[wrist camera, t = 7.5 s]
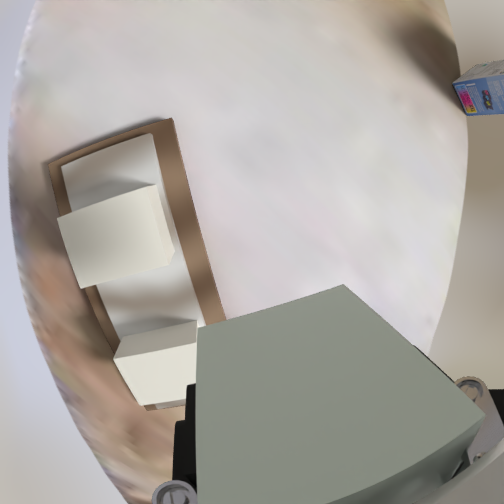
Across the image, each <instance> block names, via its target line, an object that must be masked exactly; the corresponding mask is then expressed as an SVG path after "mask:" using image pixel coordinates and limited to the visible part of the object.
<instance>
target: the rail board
mask: <svg viewBox="0 0 504 504" xmlns="http://www.w3.org/2000/svg"><path fill="white" fill-rule="evenodd" d="M48 167H49V172H50V176H51V181H52V186H53V190H54V194H55V198H56V202H57V206H58V210H59V214H60V217H61V216H64V215H66V214H69V213H71V212H74V211H77V210H79V209H82V208H85V207H87V206H90V205H93V204H96V203H99V202H101V201H104V200H107V199H110V198H113V197H116V196H119V195H122V194H125V193H128V192H131V191H134V190H137V189H140V188H144V187H147V186H152V185H156V186H157V190H158V194H159V197H160V201H161V205H162V209H163V212H164V216H165V220H166V223H167V227H168V230H169V234H170V237H171V240H172V244H173V247H174V251H175V252H174V254H173V256H172V259H171V261H170V264H169V265H167V266H163V267H159V268H155V269H152V270H148V271H144V272H140V273H137V274H133V275H129V276H126V277H122V278H118V279H114V280H111V281H107V282H103V283H100V284H96V285H92V286H89V287H85V291H86V293H87V296H88V298H89V301H90V303H91V305H92V308H93V310H94V312H95V315H96V317H97V319H98V321H99V324H100V326H101V328H102V330H103V332H104V334H105V336H106V338H107V340H108V342H109V344H110V346H111V348H112V350H113V352H114V354H115V353H116V351H117V349H118V347H119V344H120V342H121V340H122V338H123V337H124V336H129V335H133V334H138V333H143V332H148V331H152V330H157V329H161V328H166V327H170V326H174V325H179V324H183V323H187V322H191V321H196V320H197V321H198V324H199V327H203V326H207V325H210V324H214V323H218V322H222V321H225V320H226V317H225V314H224V311H223V307H222V304H221V301H220V297H219V294H218V291H217V287H216V284H215V280H214V277H213V273H212V270H211V266H210V263H209V259H208V256H207V252H206V249H205V245H204V241H203V238H202V234H201V230H200V227H199V223H198V219H197V215H196V212H195V208H194V204H193V200H192V196H191V192H190V188H189V184H188V180H187V176H186V172H185V168H184V164H183V160H182V156H181V151H180V147H179V143H178V138H177V134H176V130H175V125H174V121H173V119H172V118H169V119H166V120H162V121H159V122H155V123H152V124H149V125H146V126H143V127H140V128H137V129H134V130H131V131H128V132H125V133H122V134H119V135H116V136H114V137H111V138H108V139H106V140H103V141H100V142H98V143H95V144H93V145H90V146H88V147H85V148H83V149H81V150H78V151H76V152H74V153H71V154H69V155H67V156H64V157H62V158H60V159H58V160H56V161H54V162H51V163H49V164H48ZM183 405H186V399H181V400H175V401H169V402H162V403H156V404H148V405H144V407H145V409H146V410H147V411H150V410H157V409H165V408H171V407H177V406H183Z"/></svg>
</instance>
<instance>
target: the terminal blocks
mask: <svg viewBox="0 0 504 504" xmlns="http://www.w3.org/2000/svg"><path fill="white" fill-rule="evenodd" d="M57 221H58V224H59V228H60V231H61V235H62V238H63V241H64V244H65V247H66V250H67V253H68V256H69V259H70V262H71V265H72V268H73V270H74V273H75V276H76V278H77V281H78V284H79V286H80V289H81V288H85V287H89V286H92V285H96V284H100V283H103V282H107V281H111V280H114V279H118V278H122V277H126V276H129V275H133V274H137V273H140V272H144V271H148V270H152V269H155V268H159V267H163V266H167V265H169V264H170V261H171V259H172V256H173V254H174V252H175V251H174V247H173V244H172V240H171V237H170V234H169V230H168V227H167V223H166V220H165V216H164V212H163V209H162V205H161V201H160V197H159V194H158V190H157V186H156V185H152V186H147V187H144V188H140V189H137V190H134V191H131V192H128V193H125V194H122V195H119V196H116V197H113V198H110V199H107V200H104V201H101V202H99V203H96V204H93V205H90V206H87V207H85V208H82V209H79V210H77V211H74V212H71V213H69V214H66V215H64V216H61V217H59V218H57ZM197 328H199V324H198V321H197V320H196V321H191V322H187V323H183V324H179V325H174V326H170V327H166V328H161V329H157V330H152V331H148V332H143V333H138V334H133V335H129V336H124V337H123V338H122V340H121V342H120V344H119V347H118V349H117V351H116V353H115V356H114V358H113V360H114V362H115V364H116V366H117V367H118V369H119V371H120V373H121V375H122V376H123V378H124V380H125V382H126V383H127V385H128V387H129V388H130V390H131V392H132V393H133V395H134V397H135V398H136V400H137V402H138V403H139V405H140V406H141V405H148V404H156V403H162V402H169V401H175V400H181V399H186V387H187V385H189V384H194V383H196V354H197Z"/></svg>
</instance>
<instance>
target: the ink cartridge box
mask: <svg viewBox="0 0 504 504" xmlns="http://www.w3.org/2000/svg"><path fill="white" fill-rule="evenodd" d="M452 84H453V86H454V88H455V90H456V92H457V94H458V97H459V99H460V101H461V103H462V106H463V108H464V110H465V113H466V115H467V116H473V115H491V114H504V60H499V61H493V62H487V63H482V64H477V65H475V66H474V67H473V68H471V69H470V70H469V71H468V72H466V73H465V74H463V75H462V76H461V77H459V78H458V79H457V80H455V81H454V82H453V83H452Z"/></svg>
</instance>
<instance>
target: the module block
mask: <svg viewBox="0 0 504 504" xmlns="http://www.w3.org/2000/svg"><path fill="white" fill-rule="evenodd" d="M485 416H486V414H485V413H484V412H483V411H482V410H481V409H480V408H479V407H478V406H477V405H476V404H475V403H474V402H473V401H472V400H471V399H470V398H469V397H468V396H467V395H466V394H465V393H464V392H463V391H462V390H460V389H459V388H458V387H457V386H456V385H455V384H454V383H453V382H452V381H451V380H450V379H449V378H448V377H447V376H446V375H445V374H444V373H443V372H441V371H440V370H439V369H438V368H437V367H436V366H435V365H434V364H433V363H432V362H431V361H430V360H429V359H427V358H426V357H425V356H424V355H423V354H422V353H421V352H420V351H419V350H418V349H417V348H415V347H414V346H413V345H412V344H411V343H410V342H409V341H408V340H407V339H405V338H404V337H403V336H402V335H401V334H400V333H399V332H398V331H397V330H395V329H394V328H393V327H392V326H391V325H390V324H389V323H388V322H386V321H385V320H384V319H383V318H382V317H381V316H380V315H378V314H377V313H376V312H375V311H374V310H373V309H372V308H370V307H369V306H368V305H367V304H366V303H365V302H364V301H362V300H361V299H360V298H359V297H358V296H357V295H355V294H354V293H353V292H352V291H351V290H350V289H349V288H347V287H346V286H345V285H344V284H343V285H340V286H337V287H334V288H331V289H328V290H325V291H322V292H319V293H316V294H313V295H309V296H306V297H303V298H300V299H297V300H294V301H290V302H287V303H284V304H281V305H277V306H274V307H271V308H267V309H264V310H261V311H257V312H254V313H250V314H247V315H243V316H240V317H236V318H233V319H229V320H225V321H222V322H218V323H214V324H210V325H207V326H203V327H199V328H197V354H196V474H197V498H198V504H412V503H414V502H416V501H418V500H419V499H421V498H423V497H424V496H426V495H428V494H429V493H431V492H433V491H434V490H436V489H437V488H439V487H441V486H442V485H444V484H445V483H446V482H447V481H449V480H450V479H451V478H452V476H453V475H454V473H455V472H456V470H457V468H458V467H459V465H460V463H461V462H462V461H461V455H462V454H463V452H464V450H465V448H466V447H467V446H468V445H470V444H471V443H472V442H473V440H474V438H475V437H476V435H477V433H478V431H479V429H480V427H481V424H482V422H483V420H484V418H485Z"/></svg>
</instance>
